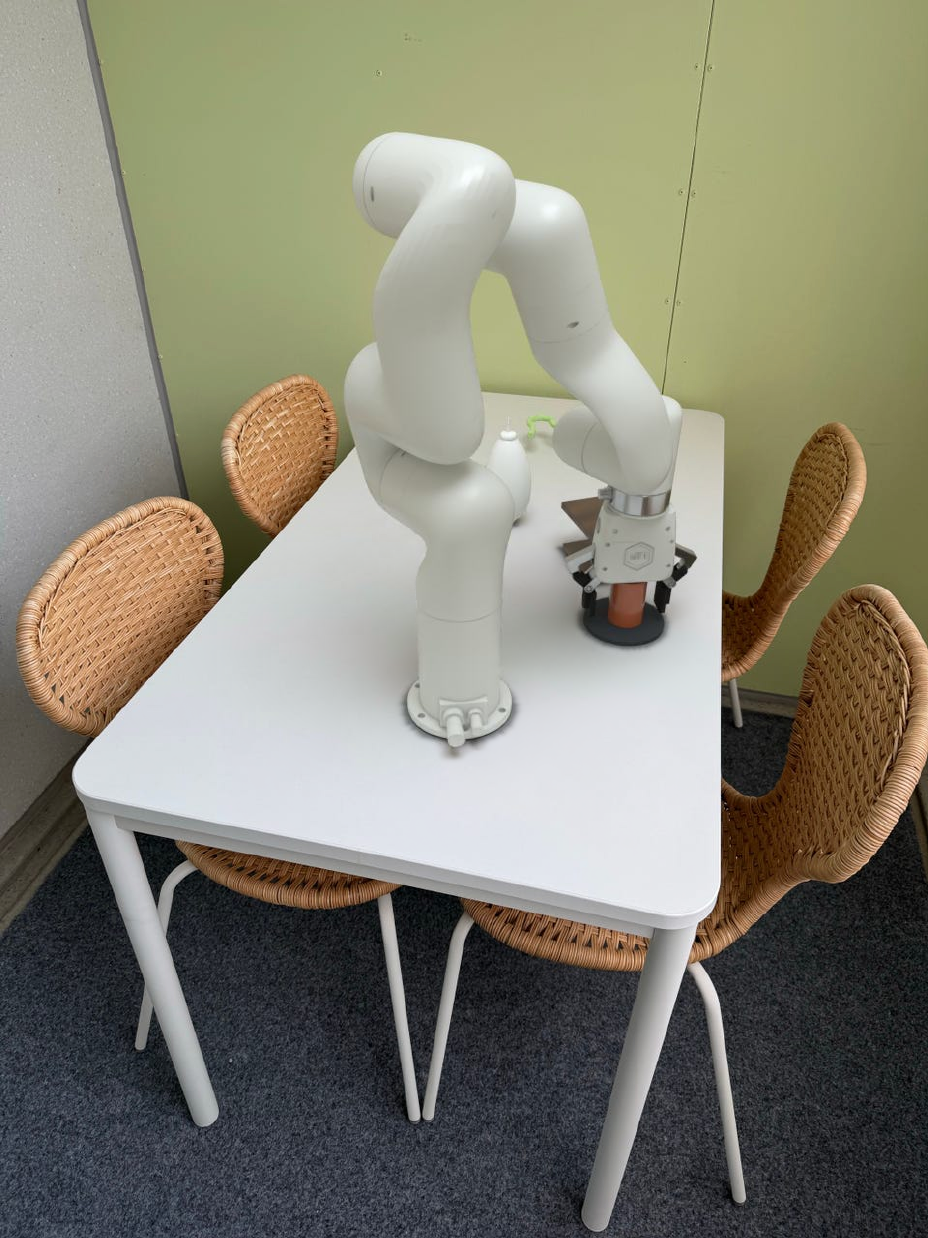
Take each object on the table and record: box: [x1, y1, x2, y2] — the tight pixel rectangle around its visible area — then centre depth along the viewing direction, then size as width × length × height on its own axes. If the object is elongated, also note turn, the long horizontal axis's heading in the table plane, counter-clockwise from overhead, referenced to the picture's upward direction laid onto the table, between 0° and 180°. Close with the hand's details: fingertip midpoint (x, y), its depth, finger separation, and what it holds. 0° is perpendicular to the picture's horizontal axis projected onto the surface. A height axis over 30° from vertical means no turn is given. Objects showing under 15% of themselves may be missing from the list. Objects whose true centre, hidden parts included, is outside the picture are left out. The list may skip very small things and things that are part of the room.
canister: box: [607, 582, 649, 628], centre depth 117 cm, size 5×5×7 cm
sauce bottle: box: [484, 416, 532, 522], centre depth 137 cm, size 8×8×18 cm
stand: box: [560, 496, 605, 585], centre depth 130 cm, size 12×12×8 cm
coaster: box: [582, 596, 666, 647], centre depth 119 cm, size 11×11×1 cm
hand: (624, 609), depth 118 cm, fingers open, 9 cm apart
